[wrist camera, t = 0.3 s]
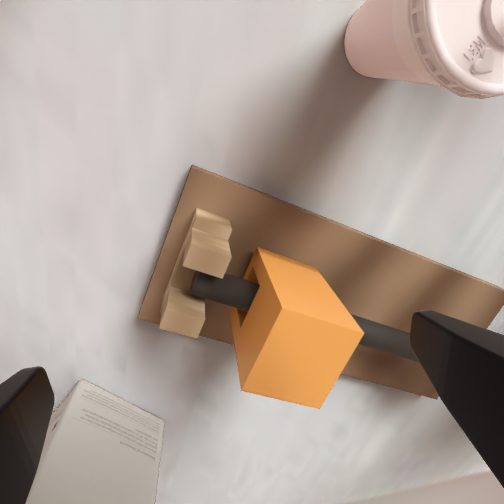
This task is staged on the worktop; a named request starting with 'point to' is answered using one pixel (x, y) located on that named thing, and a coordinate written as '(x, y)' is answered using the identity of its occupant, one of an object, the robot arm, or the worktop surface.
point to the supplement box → (98, 452)
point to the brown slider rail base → (311, 253)
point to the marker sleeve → (291, 332)
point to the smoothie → (431, 43)
